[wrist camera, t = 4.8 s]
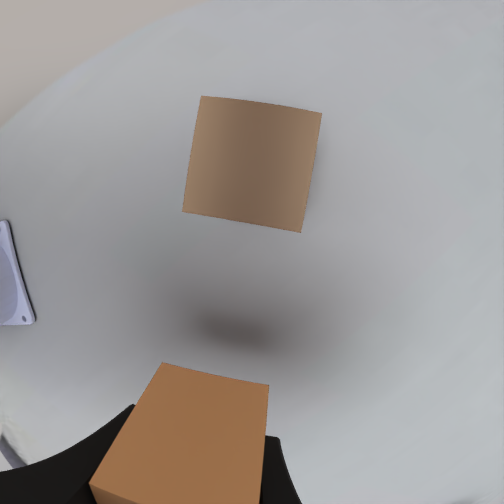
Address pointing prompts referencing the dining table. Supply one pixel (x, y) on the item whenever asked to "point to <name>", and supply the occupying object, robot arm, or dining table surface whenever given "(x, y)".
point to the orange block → (188, 443)
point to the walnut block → (251, 162)
